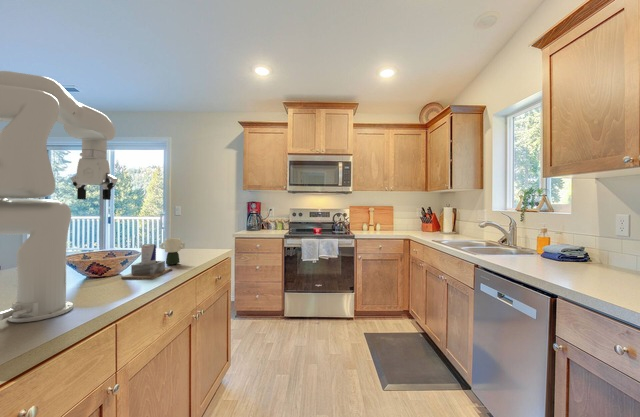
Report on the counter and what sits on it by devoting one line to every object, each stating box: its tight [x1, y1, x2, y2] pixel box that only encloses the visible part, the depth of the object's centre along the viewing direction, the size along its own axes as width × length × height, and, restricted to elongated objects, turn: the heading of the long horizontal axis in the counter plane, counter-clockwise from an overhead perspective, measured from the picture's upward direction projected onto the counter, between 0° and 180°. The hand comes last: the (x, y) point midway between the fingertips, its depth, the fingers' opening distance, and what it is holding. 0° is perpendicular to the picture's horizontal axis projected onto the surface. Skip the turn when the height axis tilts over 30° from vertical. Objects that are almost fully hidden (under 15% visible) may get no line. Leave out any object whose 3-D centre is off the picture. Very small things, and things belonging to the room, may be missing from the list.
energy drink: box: [140, 243, 157, 265], centre depth 117 cm, size 5×5×12 cm
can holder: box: [121, 260, 173, 280], centre depth 118 cm, size 16×12×5 cm
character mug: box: [160, 237, 186, 265], centre depth 138 cm, size 11×7×13 cm, turn 104°
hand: (94, 199), depth 106 cm, fingers open, 9 cm apart
